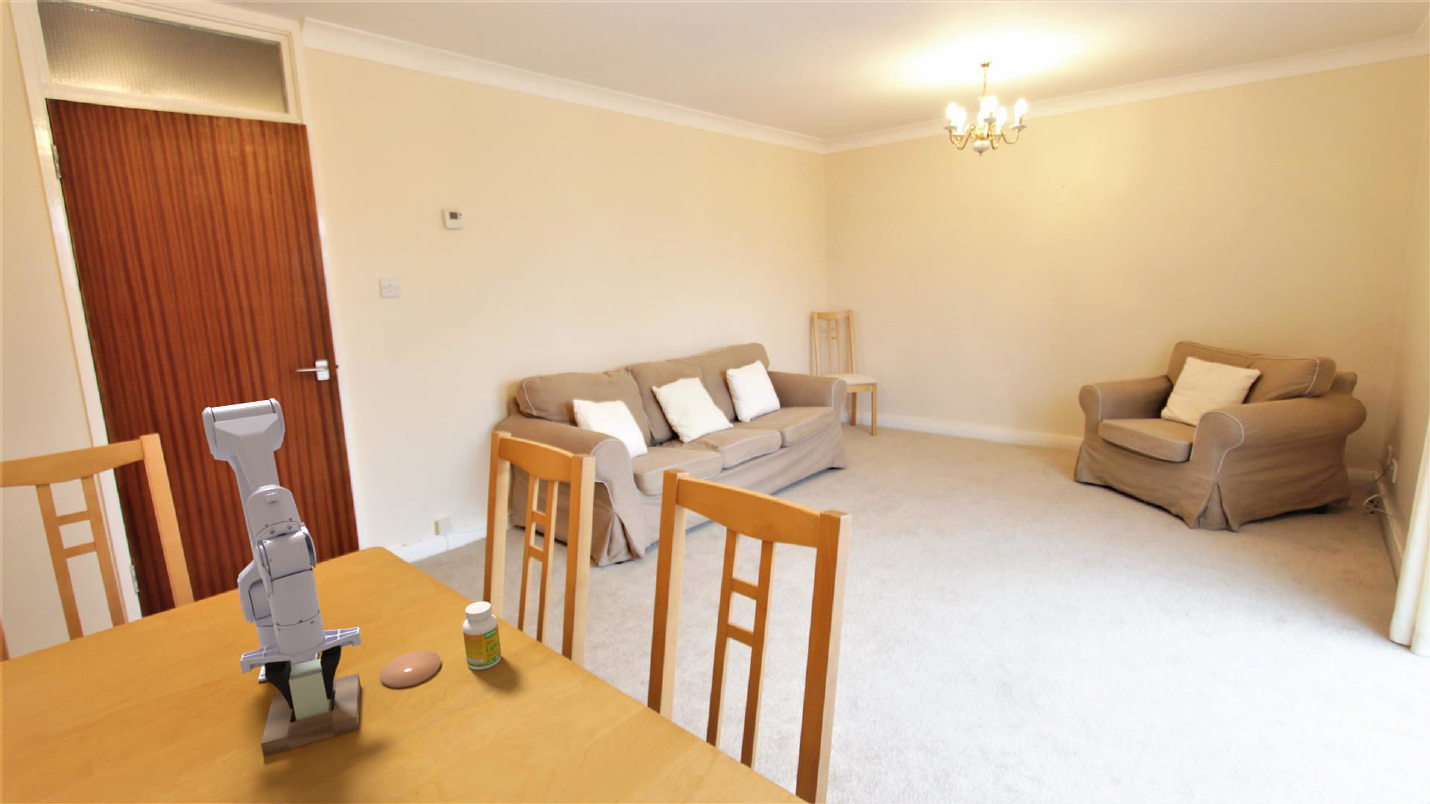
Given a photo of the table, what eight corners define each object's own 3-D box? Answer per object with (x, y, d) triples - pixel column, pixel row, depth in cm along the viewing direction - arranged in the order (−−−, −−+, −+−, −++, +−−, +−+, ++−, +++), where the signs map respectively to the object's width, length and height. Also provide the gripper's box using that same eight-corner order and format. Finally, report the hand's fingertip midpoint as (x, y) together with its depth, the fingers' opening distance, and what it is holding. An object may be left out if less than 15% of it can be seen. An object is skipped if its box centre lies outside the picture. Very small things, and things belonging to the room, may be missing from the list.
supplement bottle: (490, 672, 108) (484, 617, 106) (460, 669, 109) (453, 614, 107) (507, 653, 113) (501, 600, 111) (478, 650, 114) (472, 597, 112)
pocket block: (275, 707, 101) (273, 695, 101) (360, 684, 106) (358, 673, 106) (263, 756, 91) (260, 743, 91) (358, 729, 96) (356, 716, 95)
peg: (301, 713, 99) (292, 665, 98) (332, 705, 101) (323, 657, 99) (298, 730, 96) (288, 680, 94) (330, 721, 98) (321, 672, 96)
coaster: (380, 663, 111) (379, 660, 111) (438, 648, 115) (438, 645, 115) (380, 694, 103) (379, 691, 103) (443, 677, 107) (442, 674, 107)
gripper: (229, 643, 88) (248, 733, 91) (353, 615, 94) (367, 700, 97) (239, 618, 95) (256, 703, 98) (355, 593, 101) (368, 674, 104)
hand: (312, 700), depth 98 cm, fingers closed on peg, 4 cm apart
